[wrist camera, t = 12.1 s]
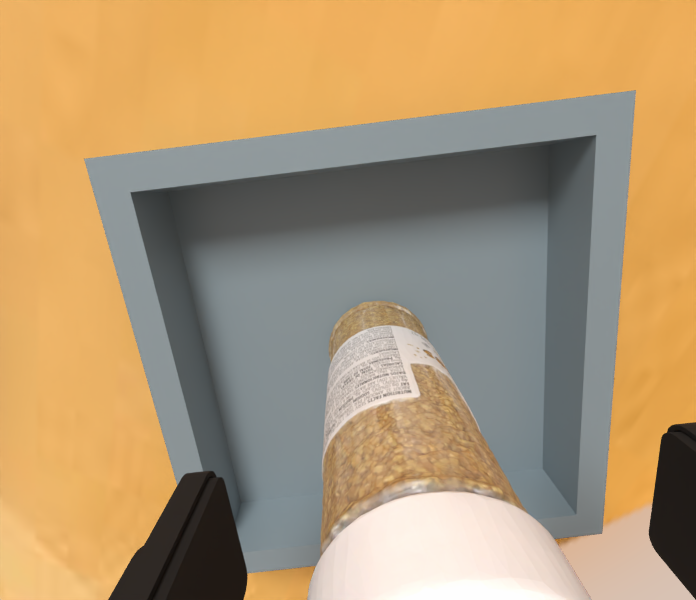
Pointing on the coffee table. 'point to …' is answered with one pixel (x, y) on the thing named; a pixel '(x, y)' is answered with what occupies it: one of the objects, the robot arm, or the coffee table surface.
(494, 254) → the tray
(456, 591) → the sprinkles bottle
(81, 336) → the coffee table surface
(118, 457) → the coffee table surface
